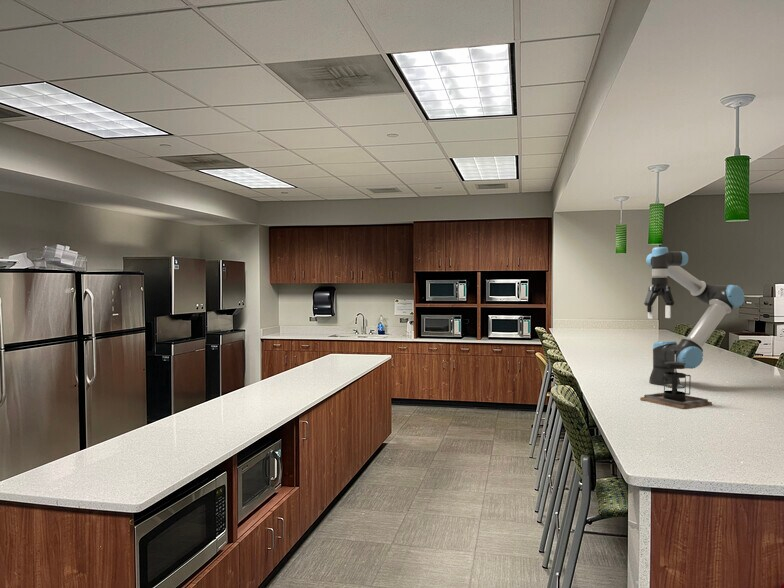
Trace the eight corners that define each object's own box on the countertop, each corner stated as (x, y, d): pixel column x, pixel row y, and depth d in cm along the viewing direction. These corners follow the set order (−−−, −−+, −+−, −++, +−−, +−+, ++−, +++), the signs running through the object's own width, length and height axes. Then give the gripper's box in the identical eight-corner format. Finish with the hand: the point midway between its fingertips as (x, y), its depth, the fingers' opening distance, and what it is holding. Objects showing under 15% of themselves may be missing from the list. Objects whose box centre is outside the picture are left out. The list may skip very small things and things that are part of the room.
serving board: (668, 396, 280) (668, 391, 280) (711, 404, 260) (712, 399, 260) (640, 400, 270) (640, 394, 270) (683, 409, 251) (683, 403, 251)
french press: (660, 400, 264) (661, 350, 264) (662, 396, 272) (663, 347, 272) (689, 402, 258) (690, 351, 258) (690, 399, 267) (691, 349, 266)
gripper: (669, 277, 307) (668, 317, 307) (637, 277, 295) (636, 318, 295) (681, 277, 300) (681, 318, 300) (649, 277, 288) (649, 319, 289)
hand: (659, 318), depth 298 cm, fingers open, 13 cm apart
